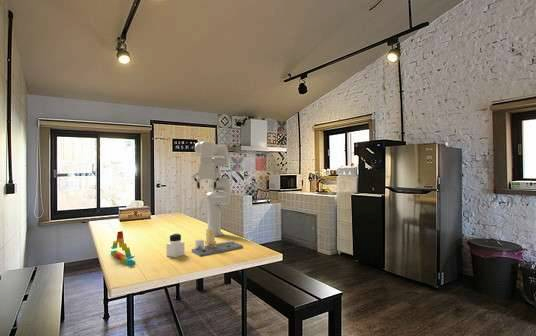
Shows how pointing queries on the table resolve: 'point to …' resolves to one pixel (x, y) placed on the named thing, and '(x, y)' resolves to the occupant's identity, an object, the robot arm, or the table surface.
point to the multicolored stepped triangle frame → (121, 256)
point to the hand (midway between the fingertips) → (206, 188)
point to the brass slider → (210, 238)
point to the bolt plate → (220, 247)
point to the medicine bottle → (175, 246)
